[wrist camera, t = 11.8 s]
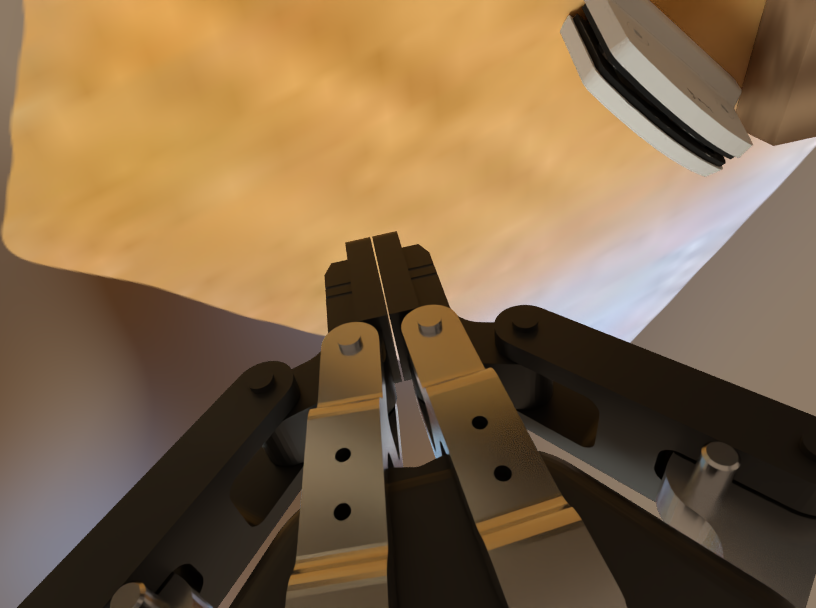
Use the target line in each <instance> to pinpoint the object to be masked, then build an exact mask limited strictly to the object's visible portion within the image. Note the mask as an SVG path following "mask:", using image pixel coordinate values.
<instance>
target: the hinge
mask: <svg viewBox="0 0 816 608" xmlns="http://www.w3.org/2000/svg"><path fill="white" fill-rule="evenodd" d="M584 1H585V3H586V4H585V5H584V6H583V7H582V9H583V11H584V13H585V15H586V17H587V19H588V21H589V23H590V24H589V23H588V22H587V21H585V20H584V19H583V18H582V17H581V16H579V15H578V14H576V15H575V17H574V18H573V17H571V16H570V15H568V17H567V19H566V20H565V22H564V23H563V25H562V28H561V30H560V33H561V35H562V37H563V40H564V42H565V44H566V46H567V49H568V51H569V53H570V56H571V58H572V60H573V62H574V65H575V67H576V69H577V71H578V74H579V76H580V78H581V80H582V82H583V84H584V86H585V87H586V88H587V90H588V91H589V92H590V93H591V94H592V95H593V96H594V97H595V98H596V99H598V100H599V101H600V102H601V103H602V104H603V105H604V106H605V107H606V108H607V109H608V110H609V111H610V112H612V113H613V114H614V115H615V116H616V117H617V118H618V119H619V120H621V121H622V122H623V123H624V124H625V125H627V126H628V127H629V128H630V129H631V130H632V131H634V132H635V133H636V134H637V135H638V136H640V137H641V138H642V139H644V140H645V141H646V142H648V143H649V144H650V145H652V146H653V147H654V148H655V149H657V150H658V151H660V152H661V153H662V154H664V155H665V156H667V157H668V158H670V159H671V160H673V161H675V162H676V163H678V164H680V165H681V166H683V167H685V168H686V169H688V170H690V171H692V172H694V173H697V174H699V175H702V176H704V177H707V176H709V175H711V174H713V173H715V172H718V171H720V170H722V169H723V167H722V165H723V164H725V163H726V162H725V159H724V157H723V156H725V157H727V158H729V159H732V158H734V157H737V158H740V157H741V156H742V155H743V154H744V153H745V152H746V151H747V150H748V149H749V148H750V147H751V146H752V145H753V143H752V141H751V139H750V137H749V136H748V134H747V132H746V130H745V128H744V126H743V125H742V123H741V121H740V119H739V117H738V115H737V113H736V112H735V110H734V106H735V104H736V102H737V100H738V99H739V97H740V95H741V92H742V90H741V88H740V87H739V85H738V84H737V82H736V80H735V79H734V78H733V77H732V76H731V75H730V74H729V73H728V72H726V71H725V70H724V69H723V68H722V67H721V66H720V65H719V64H718V63H717V62H716V61H715V60H713V59H712V58H711V57H710V56H709V55H708V54H707V53H706V52H705V51H704V50H703V49H702V48H700V47H699V46H698V45H697V44H696V43H695V42H694V41H693V40H692V39H691V38H690V37H689V36H687V35H686V34H685V33H684V32H683V31H682V30H681V29H680V28H679V27H678V26H677V25H676V24H674V23H673V22H672V21H671V20H670V19H669V18H668V17H667V16H666V15H665V14H664V13H663V12H661V11H660V10H659V9H658V8H657V7H656V6H655V5H654V4H653V3H652V2H651V1H650V0H584Z"/></svg>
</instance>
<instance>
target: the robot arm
mask: <svg viewBox="0 0 816 608" xmlns="http://www.w3.org/2000/svg"><path fill="white" fill-rule="evenodd" d="M372 238H373V242H374V247H375V252H376V256H377V261H378V265H379V270H380V275H381V279H382V284H383V288H384V293H385V297H386V302H387V307H388V311H389V316H390V320H391V324H392V329H393V333H394V337H395V342H396V346H397V350H398V355H399V359H400V364H401V368H402V372H403V377H404V380H405V381H406V380H410V379H412V382H413V386H414V390H415V395H416V399H417V404H418V407H419V410H420V413H421V416H422V419H423V422H424V425H425V428H426V431H427V434H428V437H429V440H430V442H431V446H432V449H433V452H434V455H435V457H436V459H434V460H433V461H430V462H428V463H426V464H425V465H422V466H419V467H403V461H402V450H401V440H400V430H399V419H398V410H397V405H396V400H397V396H396V389H395V384H394V383H398V382H402V379H401V375H400V370H399V366H398V361H397V356H396V351H395V347H394V342H393V337H392V333H391V328H390V323H389V319H388V314H387V309H386V305H385V300H384V295H383V291H382V286H381V282H380V278H379V273H378V269H377V265H376V261H375V256H374V252H373V248H372V243H371V239H370V237H368V238H364V239H359V240H355V241H350V242H346V243H345V244H346V252H347V259H348V260H345V261H340V262H335V263H331V265H330V266H329V268H328V270H327V272H326V274H325V288H326V290H325V291H326V307H327V323H328V334H327V335H326V336H325V338H324V340H323V342H322V345H321V352H320V353H319V354H317V356H315V357H314V358H312V359H311V360H309V361H307V362H305V363H303V364H301V365H299V366H297V367H295V368H293V369H291V368H290V367H289V366H288V365H287V364H285V363H283V362H279V361H268V362H263V363H260V364H257V365H255V366H253V367H251V368H249V369H248V370H246V371H245V372H244V373H243V374H242V375H241V376H240V377H239V378H238V379H237V380H236V381H235V382H234V383H233V384H232V385H231V386H230V387H229V388H228V389H227V390H226V391H225V392H224V393H223V394H222V395H221V396H220V397H219V398H218V399H217V401H216V402H215V403H214V404H213V405H212V406H211V407H210V408H209V409H208V410H207V411H206V412H205V413H204V414H203V415H202V416H201V417H200V418H199V419H198V421H196V422H195V423H194V424H193V425H192V426H191V428H190V429H189V430H188V431H187V432H186V433H185V434H184V435H183V436H182V437H181V438H180V439H179V440H178V441H177V442H176V443H175V444H174V445H173V446H172V447H171V448H170V449H169V450H168V451H167V452H166V453H165V454H164V456H163V457H162V458H161V459H160V460H159V461H158V462H157V463H156V464H155V465H154V466H153V467H152V468H151V469H150V470H149V471H148V472H147V473H146V474H145V475H144V476H143V477H142V478H141V480H139V481H138V482H137V484H135V485H134V487H133V488H132V489H131V490H130V491H129V492H128V493H127V494H126V495H125V496H124V497H123V498H122V499H121V500H120V501H119V502H118V503H117V504H116V505H115V506H114V507H113V508H112V509H111V510H110V511H109V512H108V514H107V515H106V516H105V517H104V518H103V519H102V520H101V521H100V522H99V523H98V524H97V525H96V526H95V527H94V528H93V529H92V530H91V531H90V532H89V533H88V534H87V535H86V536H85V537H84V539H82V540H81V541H80V543H79V544H78V545H77V546H76V547H75V548H74V549H73V550H72V551H71V552H70V553H69V554H68V555H67V556H66V557H65V558H64V559H63V560H62V561H61V562H60V563H59V564H58V565H57V566H56V567H55V568H54V570H53V571H52V572H51V573H50V574H49V575H48V576H47V577H46V578H45V579H44V580H43V581H42V582H41V583H40V584H39V585H38V586H37V587H36V588H35V589H34V590H33V591H32V592H31V593H30V594H29V595H28V596H27V598H26V599H25V600H24V601H23V602H22V603H21V604H20V605H19V606H18V607H17V608H218V606H219V605H220V603H221V602H222V601H223V599H224V598H225V596H226V595H227V594H228V592H229V591H230V589H231V588H232V586H233V585H234V584H235V582H236V581H237V579H238V578H239V577H240V575H241V574H242V572H243V571H244V570H245V568H246V567H247V565H248V564H249V562H250V561H251V559H252V558H253V557H254V555H255V554H256V553H257V551H258V550H259V548H260V547H261V545H262V544H263V543H264V541H265V540H266V538H267V537H268V536H269V534H270V533H271V531H272V530H273V529H274V527H275V526H276V524H277V523H278V522H279V520H280V519H281V517H282V516H283V514H284V513H285V512H286V510H287V509H288V507H289V506H290V505H291V503H292V502H293V500H294V499H295V497H296V496H297V495H298V493H299V492H300V490H301V489H302V493H301V505H300V509H299V510H298V511H297V512H296V513H295V514H294V515H293V516H292V517H291V518H290V519H289V520H288V521H287V522H286V524H285V525H284V526H283V527H282V528H281V530H280V531H279V532H278V534H277V535H276V537H275V538H274V540H273V541H272V543H271V544H270V546H269V547H268V549H267V550H266V552H265V553H264V555H263V556H262V558H261V560H260V561H259V563H258V564H257V566H256V567H255V569H254V570H253V572H252V573H251V575H250V576H249V578H248V579H247V581H246V583H245V584H244V586H243V587H242V588H241V590H240V592H239V593H238V595H237V596H236V598H235V599H234V601H233V602H232V604H231V605H230V607H229V608H806V605H807V601H808V598H809V595H810V591H811V588H812V585H813V581H814V578H815V574H816V416H813V415H811V414H808V413H806V412H803V411H800V410H798V409H796V408H793V407H790V406H788V405H785V404H783V403H780V402H778V401H775V400H773V399H770V398H768V397H765V396H763V395H760V394H757V393H755V392H752V391H750V390H748V389H745V388H742V387H740V386H737V385H735V384H732V383H730V382H727V381H724V380H722V379H720V378H717V377H715V376H712V375H710V374H707V373H705V372H702V371H699V370H697V369H694V368H692V367H689V366H687V365H684V364H682V363H679V362H677V361H674V360H672V359H669V358H666V357H664V356H661V355H659V354H656V353H654V352H651V351H649V350H646V349H644V348H641V347H639V346H636V345H633V344H631V343H629V342H626V341H623V340H621V339H618V338H616V337H613V336H611V335H608V334H606V333H603V332H601V331H598V330H596V329H593V328H591V327H588V326H586V325H583V324H580V323H578V322H575V321H573V320H570V319H568V318H565V317H563V316H560V315H558V314H555V313H553V312H550V311H548V310H545V309H542V308H540V307H537V306H532V305H518V306H513V307H510V308H508V309H506V310H504V311H502V312H501V313H500V314H499V315H498V316H497V318H496V320H495V322H473V321H468V320H465V319H463V318H460V317H459V316H457V314H456V313H455V312H454V311H453V310H452V309H451V308H450V306H449V304H448V301H447V298H446V296H445V293H444V290H443V288H442V285H441V282H440V280H439V277H438V274H437V272H436V269H435V266H434V264H433V261H432V259H431V256H430V253H429V252H428V251H427V250H425V249H424V248H423V247H421V246H420V245H419V244H417V245H412V246H408V247H403V248H402V247H401V244H400V240H399V237H398V234H397V231H395V232H391V233H386V234H382V235H377V236H372ZM527 430H529V431H531V432H533V433H535V434H536V435H538V436H540V437H542V438H543V439H545V440H547V441H549V442H551V443H552V444H554V445H556V446H557V447H559V448H561V449H563V450H565V451H566V452H568V453H570V454H572V455H573V456H575V457H577V458H579V459H580V460H582V461H584V462H586V463H587V464H590V465H591V466H593V467H594V468H596V469H598V470H600V471H602V472H603V473H605V474H607V475H609V476H610V477H612V478H614V479H615V480H617V481H619V482H621V483H623V484H624V485H626V486H628V487H630V488H631V489H633V490H635V491H637V492H638V493H640V494H642V495H644V496H646V497H647V498H649V499H651V500H652V501H654V502H656V505H657V510H658V512H659V515H660V517H661V518H662V520H663V521H662V520H660V519H659V518H657V517H656V516H654V515H652V514H651V513H649V512H647V511H646V510H644V509H643V508H641V507H640V506H638V505H636V504H635V503H633V502H631V501H630V500H628V499H627V498H625V497H623V496H622V495H620V494H619V493H617V492H615V491H614V490H612V489H610V488H609V487H607V486H606V485H604V484H602V483H601V482H599V481H598V480H596V479H594V478H593V477H591V476H590V475H588V474H586V473H585V472H583V471H582V470H580V469H578V468H577V467H575V466H573V465H572V464H570V463H568V462H566V461H565V460H562V459H560V458H558V457H556V456H554V455H551V454H548V453H545V452H541V451H538V450H537V448H536V446H535V444H534V442H533V440H532V439H531V437H530V435H529V433H528V431H527Z"/></svg>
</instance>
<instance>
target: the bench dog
mask: <svg viewBox="0 0 816 608" xmlns="http://www.w3.org/2000/svg"><path fill="white" fill-rule="evenodd" d="M736 113H737V115H738V117H739V119H740V121H741V123H742V125H743V126H744V128H745V130H746V132H747V133H748V134H750V135H752V136H754V137H756V138H758V139H760V140H762V141H764V142H767V143H769V144H771V145H773V146H775V145H780V144H784V143H789V142H794V141H798V140H803V139H807V138H812V137H816V0H766V4H765V7H764V11H763V14H762V18H761V22H760V25H759V29H758V33H757V36H756V40H755V44H754V47H753V51H752V55H751V58H750V62H749V65H748V69H747V73H746V76H745V80H744V84H743V87H742V92H741V95H740V98H739V102H738V106H737V109H736Z"/></svg>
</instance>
